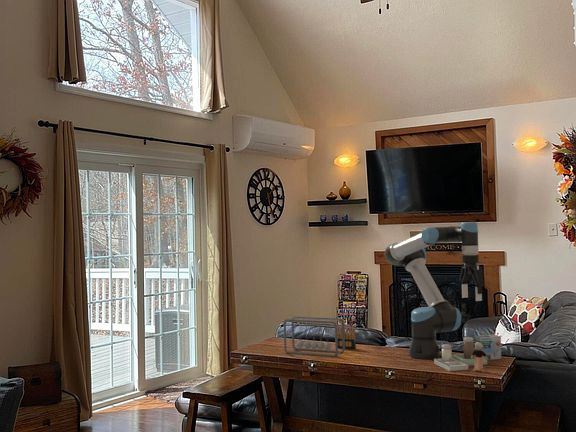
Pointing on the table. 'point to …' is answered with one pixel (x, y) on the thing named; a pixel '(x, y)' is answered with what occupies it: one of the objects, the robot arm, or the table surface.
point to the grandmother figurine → (478, 357)
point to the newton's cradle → (314, 344)
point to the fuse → (446, 353)
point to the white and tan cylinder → (468, 347)
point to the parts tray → (468, 361)
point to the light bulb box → (490, 345)
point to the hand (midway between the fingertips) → (471, 299)
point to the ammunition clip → (346, 338)
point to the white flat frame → (451, 365)
